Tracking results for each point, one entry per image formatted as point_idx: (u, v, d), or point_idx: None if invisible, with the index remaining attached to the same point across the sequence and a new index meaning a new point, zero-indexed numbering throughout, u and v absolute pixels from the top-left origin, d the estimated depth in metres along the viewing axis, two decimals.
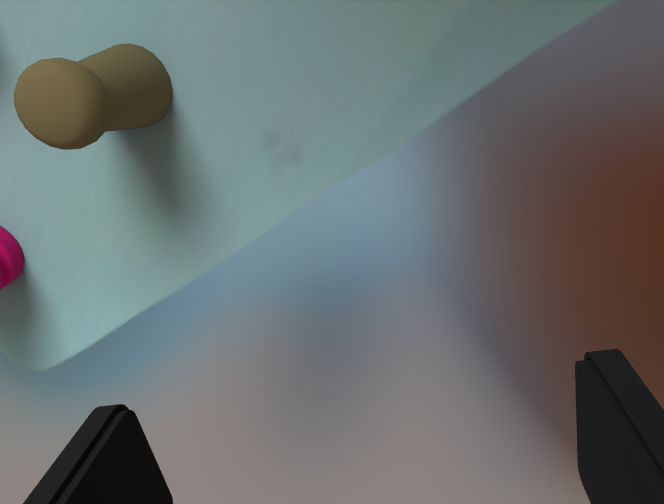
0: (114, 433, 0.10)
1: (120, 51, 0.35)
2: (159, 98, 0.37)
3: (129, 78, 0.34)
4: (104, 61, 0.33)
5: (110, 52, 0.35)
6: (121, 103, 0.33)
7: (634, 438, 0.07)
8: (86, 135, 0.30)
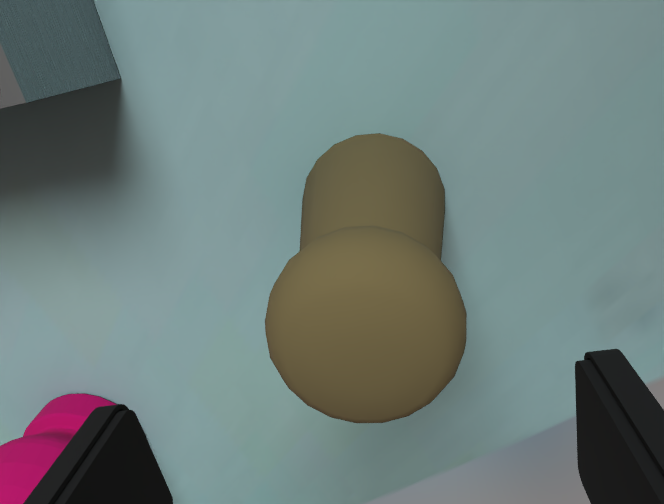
0: (114, 433, 0.10)
1: (392, 161, 0.18)
2: None
3: (434, 225, 0.17)
4: (398, 196, 0.16)
5: (381, 166, 0.18)
6: None
7: (634, 438, 0.07)
8: (428, 403, 0.13)
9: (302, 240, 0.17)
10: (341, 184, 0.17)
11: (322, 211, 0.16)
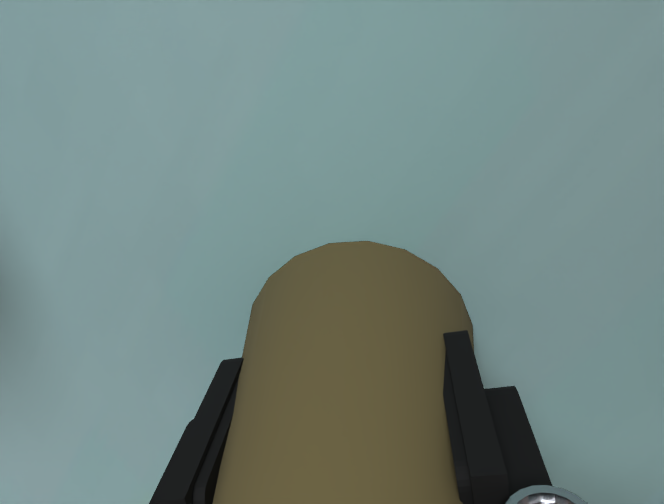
0: None
1: (388, 310, 0.10)
2: None
3: None
4: (401, 420, 0.08)
5: (368, 326, 0.10)
6: None
7: (451, 401, 0.09)
8: None
9: None
10: (293, 372, 0.09)
11: (250, 444, 0.08)
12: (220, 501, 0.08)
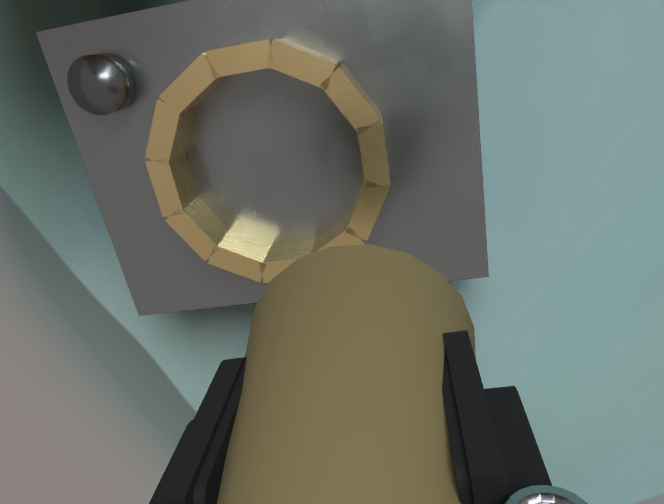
0: None
1: (390, 314, 0.10)
2: None
3: None
4: (404, 424, 0.08)
5: (370, 330, 0.10)
6: None
7: (451, 400, 0.09)
8: None
9: (219, 492, 0.09)
10: (295, 376, 0.09)
11: (254, 448, 0.08)
12: None
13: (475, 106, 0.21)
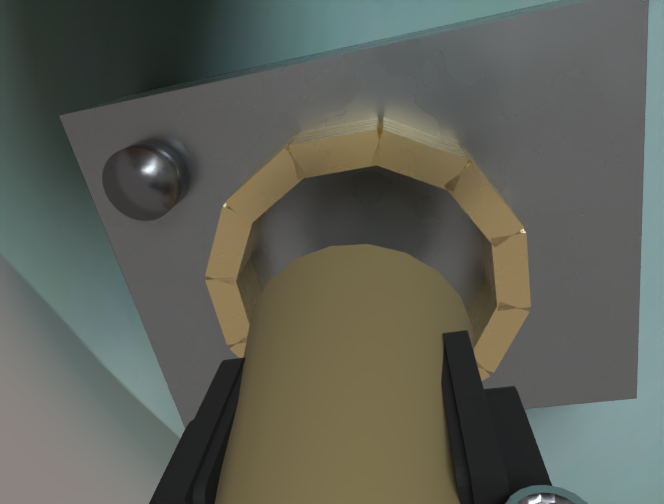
0: None
1: (388, 313, 0.10)
2: None
3: None
4: (401, 424, 0.08)
5: (368, 330, 0.10)
6: None
7: (451, 401, 0.09)
8: None
9: None
10: (293, 376, 0.09)
11: (251, 448, 0.08)
12: None
13: (638, 197, 0.16)
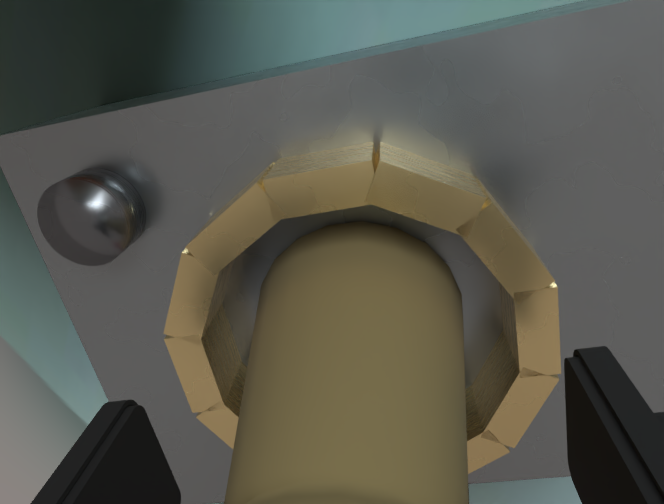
0: (124, 428, 0.10)
1: (381, 278, 0.12)
2: None
3: (456, 399, 0.10)
4: (392, 366, 0.09)
5: (363, 292, 0.11)
6: None
7: (619, 433, 0.08)
8: None
9: (236, 434, 0.10)
10: (298, 333, 0.10)
11: (264, 392, 0.10)
12: (240, 440, 0.09)
13: None
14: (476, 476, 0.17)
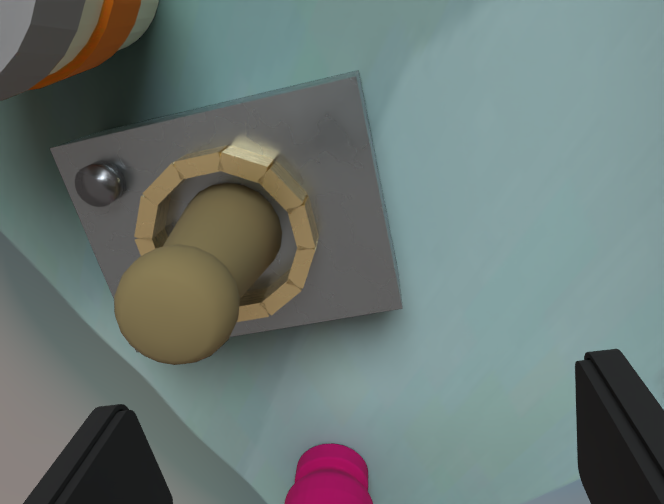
0: (114, 433, 0.10)
1: (225, 202, 0.27)
2: (272, 250, 0.29)
3: (246, 242, 0.26)
4: (216, 225, 0.25)
5: (215, 206, 0.27)
6: (242, 282, 0.25)
7: (634, 438, 0.07)
8: (214, 348, 0.22)
9: None
10: (185, 220, 0.26)
11: (168, 238, 0.25)
12: None
13: (375, 186, 0.29)
14: (303, 320, 0.33)
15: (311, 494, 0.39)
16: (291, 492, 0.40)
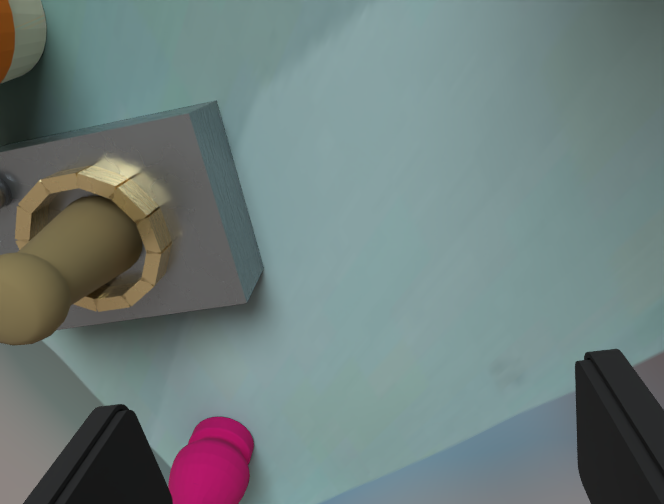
0: (114, 433, 0.10)
1: (82, 214, 0.34)
2: (127, 253, 0.35)
3: (91, 248, 0.32)
4: (64, 235, 0.31)
5: (71, 217, 0.33)
6: (82, 281, 0.31)
7: (634, 438, 0.07)
8: (42, 333, 0.28)
9: None
10: (44, 229, 0.32)
11: None
12: None
13: (213, 202, 0.35)
14: (167, 310, 0.39)
15: (190, 458, 0.46)
16: (177, 456, 0.47)
